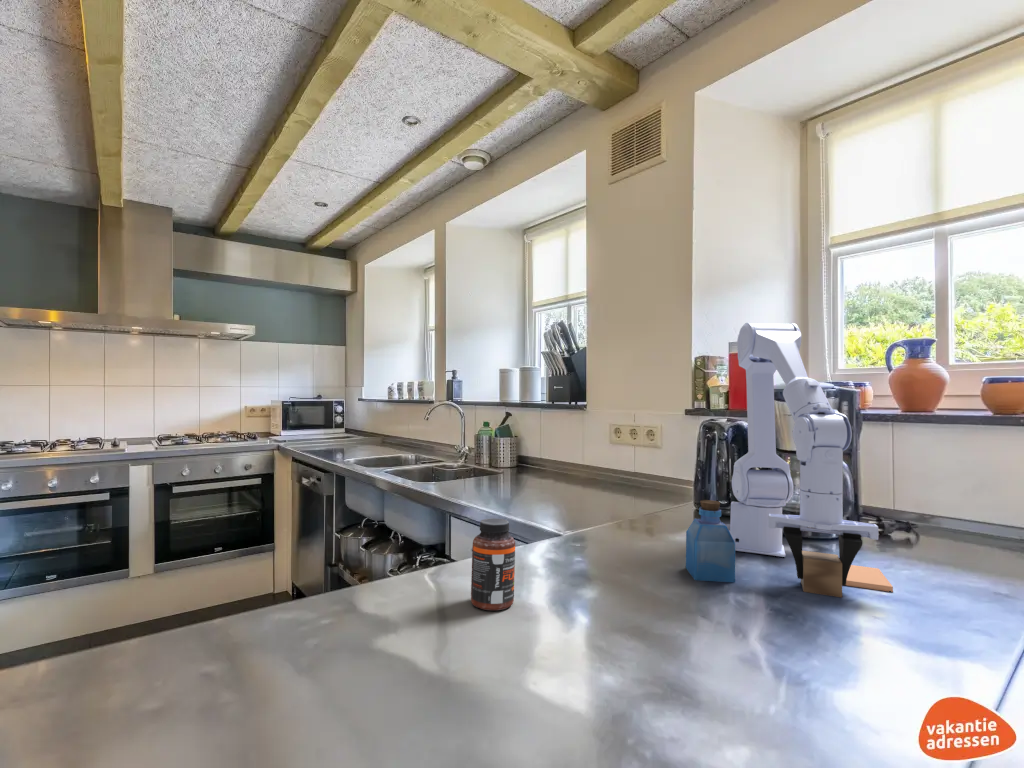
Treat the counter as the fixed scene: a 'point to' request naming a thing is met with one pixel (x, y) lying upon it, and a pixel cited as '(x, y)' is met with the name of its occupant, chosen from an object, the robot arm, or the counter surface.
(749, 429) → the robot arm
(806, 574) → the cube
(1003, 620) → the counter surface
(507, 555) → the supplement bottle
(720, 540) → the perfume bottle
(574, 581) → the counter surface
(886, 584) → the plate
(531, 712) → the counter surface
